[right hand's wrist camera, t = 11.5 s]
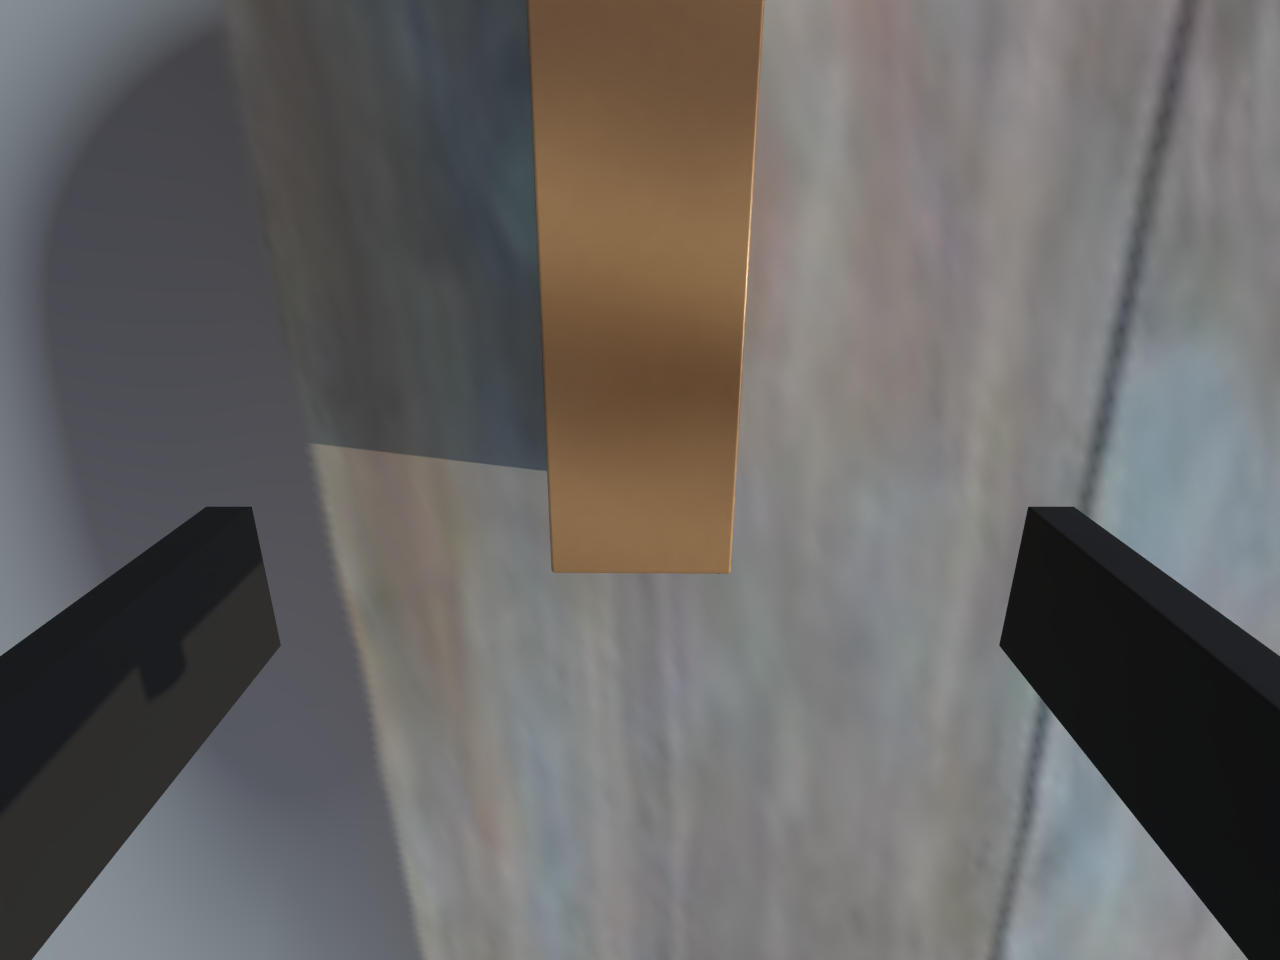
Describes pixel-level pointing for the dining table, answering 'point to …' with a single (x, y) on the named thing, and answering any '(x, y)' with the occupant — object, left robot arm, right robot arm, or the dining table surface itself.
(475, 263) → the dining table surface
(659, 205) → the post
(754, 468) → the dining table surface
